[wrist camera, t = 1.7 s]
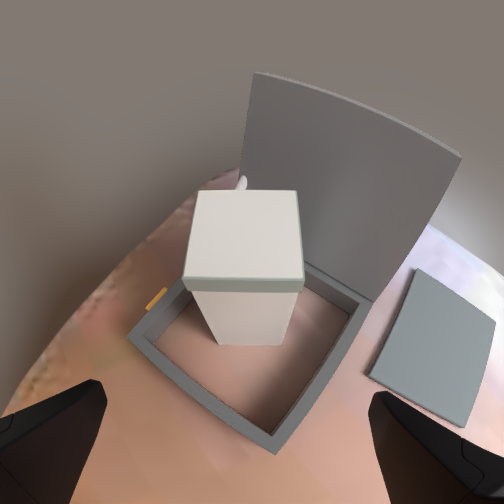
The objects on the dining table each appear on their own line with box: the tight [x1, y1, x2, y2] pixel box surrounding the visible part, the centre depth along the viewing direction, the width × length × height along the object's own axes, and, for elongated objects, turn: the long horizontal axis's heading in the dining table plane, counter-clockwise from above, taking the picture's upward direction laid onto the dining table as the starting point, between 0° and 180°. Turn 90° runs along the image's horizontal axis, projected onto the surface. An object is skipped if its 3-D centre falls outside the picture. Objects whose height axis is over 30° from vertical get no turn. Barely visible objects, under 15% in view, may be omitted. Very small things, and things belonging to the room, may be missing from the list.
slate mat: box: [367, 268, 496, 428], centre depth 20 cm, size 12×12×1 cm
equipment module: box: [182, 190, 305, 346], centre depth 18 cm, size 5×5×12 cm
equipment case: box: [126, 72, 462, 455], centre depth 17 cm, size 18×15×15 cm
